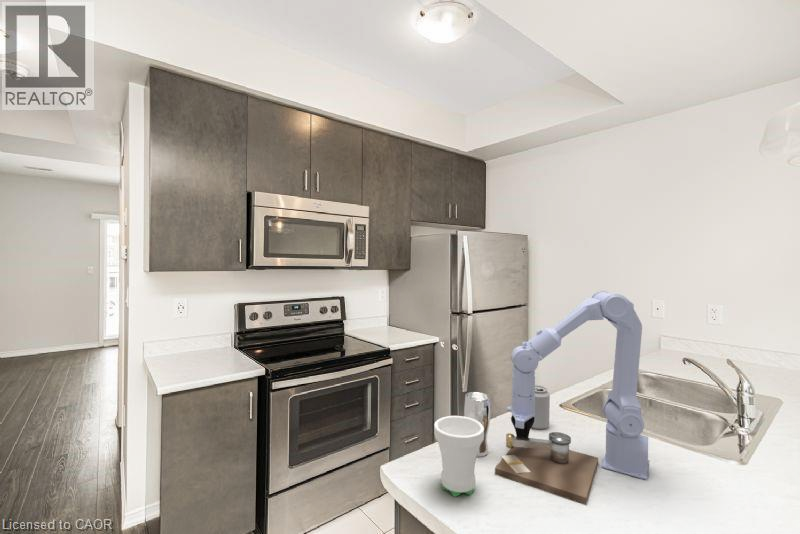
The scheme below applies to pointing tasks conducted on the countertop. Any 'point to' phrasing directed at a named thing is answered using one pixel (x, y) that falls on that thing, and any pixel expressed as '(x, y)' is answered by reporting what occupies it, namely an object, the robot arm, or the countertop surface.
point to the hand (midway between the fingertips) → (522, 444)
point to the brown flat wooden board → (550, 472)
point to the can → (541, 407)
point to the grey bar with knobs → (544, 445)
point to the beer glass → (479, 414)
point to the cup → (458, 451)
